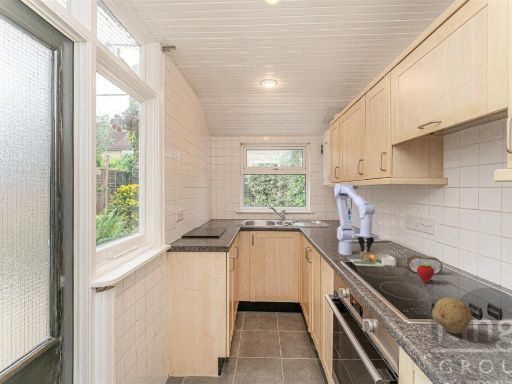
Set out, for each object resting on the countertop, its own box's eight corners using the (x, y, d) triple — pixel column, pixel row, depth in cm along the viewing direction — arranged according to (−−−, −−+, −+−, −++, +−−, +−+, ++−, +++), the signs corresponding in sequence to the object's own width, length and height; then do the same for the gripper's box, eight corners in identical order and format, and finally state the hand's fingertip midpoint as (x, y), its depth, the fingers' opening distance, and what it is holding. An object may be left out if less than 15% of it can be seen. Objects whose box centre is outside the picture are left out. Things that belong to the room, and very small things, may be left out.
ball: (367, 253, 151) (374, 254, 151) (366, 260, 152) (373, 261, 151) (369, 254, 147) (377, 256, 147) (368, 262, 148) (376, 263, 147)
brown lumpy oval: (438, 338, 75) (440, 302, 75) (426, 322, 84) (428, 290, 84) (477, 343, 73) (478, 306, 73) (460, 327, 82) (461, 294, 82)
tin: (440, 274, 135) (441, 257, 135) (442, 276, 132) (443, 258, 132) (406, 270, 139) (407, 254, 139) (408, 272, 136) (408, 255, 136)
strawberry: (412, 281, 123) (413, 259, 123) (425, 280, 125) (426, 258, 125) (424, 286, 117) (425, 262, 117) (437, 284, 119) (438, 261, 119)
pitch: (346, 259, 158) (346, 251, 158) (385, 260, 157) (385, 253, 157) (355, 267, 142) (355, 258, 142) (398, 269, 141) (399, 260, 141)
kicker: (359, 258, 154) (360, 244, 154) (364, 259, 154) (364, 244, 153) (364, 262, 146) (365, 247, 146) (369, 263, 146) (370, 248, 145)
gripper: (354, 227, 146) (353, 252, 146) (382, 228, 145) (381, 253, 145) (350, 225, 153) (349, 249, 153) (377, 226, 152) (376, 250, 152)
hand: (365, 251), depth 149 cm, fingers closed on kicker, 2 cm apart
